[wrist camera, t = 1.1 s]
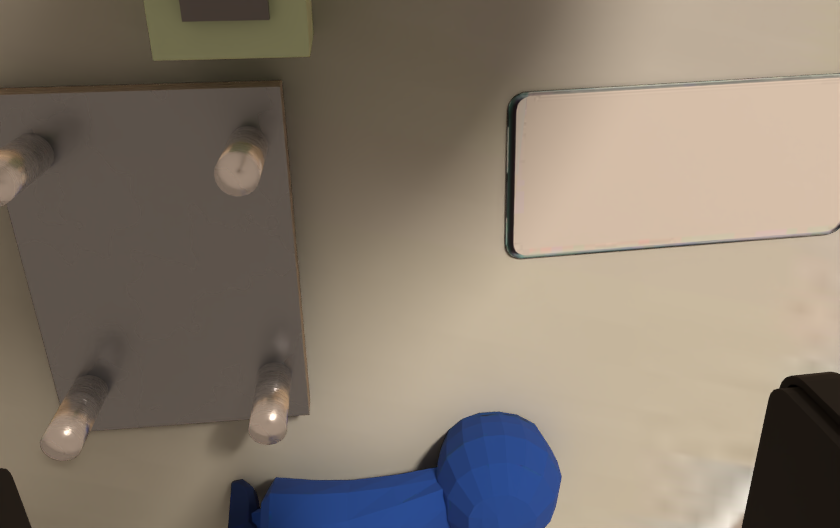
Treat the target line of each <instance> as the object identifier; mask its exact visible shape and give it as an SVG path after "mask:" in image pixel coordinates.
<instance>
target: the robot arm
mask: <svg viewBox="0 0 840 528" xmlns="http://www.w3.org/2000/svg"><path fill="white" fill-rule="evenodd" d="M0 528H31V525H30V522H29V520H28V517H27V514H26V512H25V509H24V506H23V504H22V501H21V498H20V496H19V493H18V490H17V488H16V485H15V482H14V479H13V477H12V475H11V473H10V472H9V471H8V470H7V469H3V468H1V469H0ZM742 528H840V374H838V373H835V372H824V373H814V374H804V375H794V376H789V377H786V378H785V379H784V380H783V381H782V383H781V385H780V388H779V389H776V390H773V392H772V393H771V394H770V397H769V400H768V405H767V409H766V414H765V419H764V424H763V429H762V433H761V438H760V443H759V448H758V452H757V457H756V462H755V467H754V471H753V476H752V481H751V486H750V490H749V495H748V500H747V505H746V510H745V514H744V519H743V524H742Z"/></svg>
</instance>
